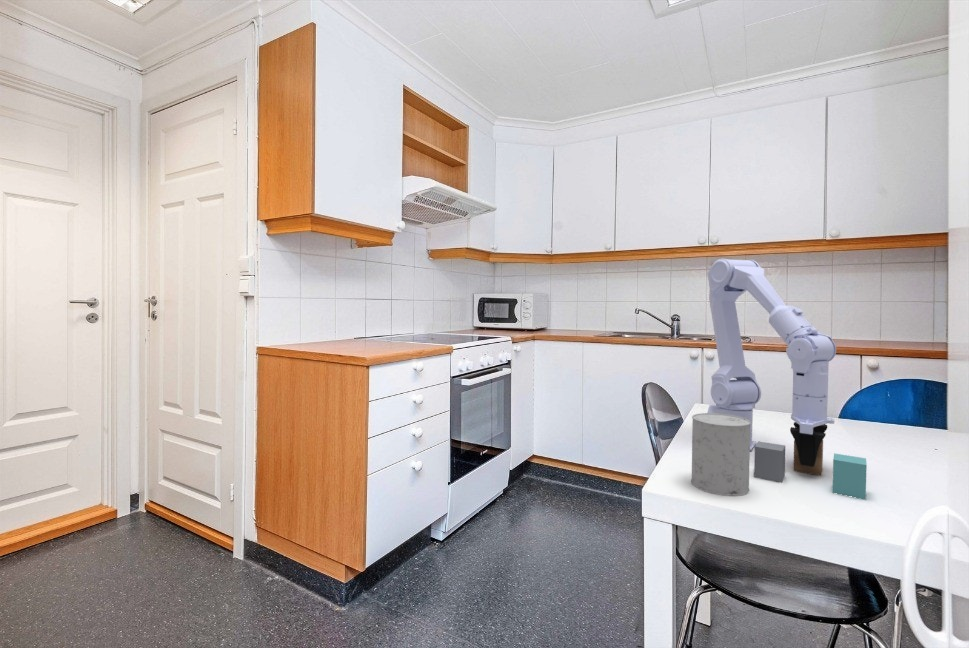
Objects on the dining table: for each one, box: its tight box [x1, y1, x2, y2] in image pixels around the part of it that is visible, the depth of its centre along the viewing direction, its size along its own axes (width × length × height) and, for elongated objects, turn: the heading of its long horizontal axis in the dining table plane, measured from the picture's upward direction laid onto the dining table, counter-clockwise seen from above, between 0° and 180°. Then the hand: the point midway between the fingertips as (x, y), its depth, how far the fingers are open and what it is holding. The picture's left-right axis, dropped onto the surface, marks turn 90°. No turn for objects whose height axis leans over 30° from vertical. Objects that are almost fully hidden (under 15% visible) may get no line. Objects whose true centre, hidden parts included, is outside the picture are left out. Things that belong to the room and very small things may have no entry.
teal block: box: [831, 453, 868, 500], centre depth 81 cm, size 4×4×6 cm
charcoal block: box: [753, 441, 786, 484], centre depth 88 cm, size 4×4×6 cm
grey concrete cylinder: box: [690, 412, 751, 497], centre depth 84 cm, size 10×10×12 cm
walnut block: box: [792, 439, 824, 477], centre depth 92 cm, size 4×4×6 cm
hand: (808, 462), depth 92 cm, fingers closed on walnut block, 4 cm apart
